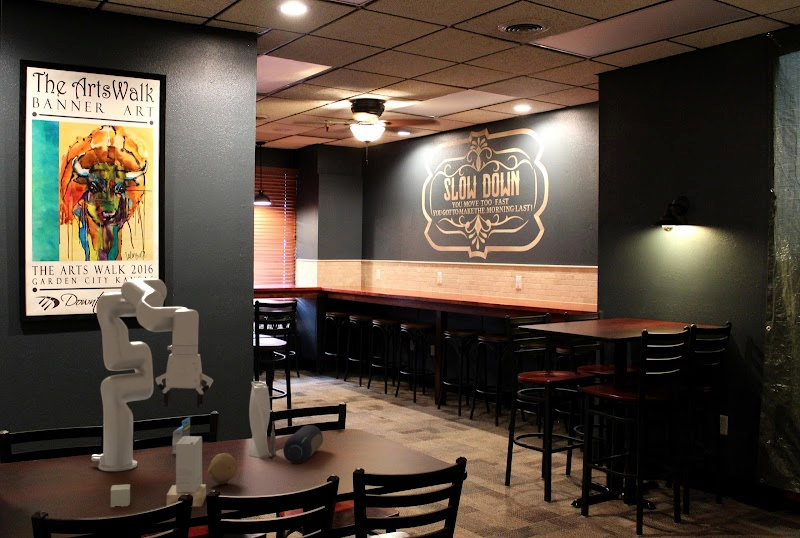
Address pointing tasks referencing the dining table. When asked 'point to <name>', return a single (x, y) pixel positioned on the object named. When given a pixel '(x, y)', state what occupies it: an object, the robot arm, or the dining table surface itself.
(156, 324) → the robot arm
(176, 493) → the maple slab
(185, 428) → the label tape box
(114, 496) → the sage block
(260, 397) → the skyscraper
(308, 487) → the dining table surface
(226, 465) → the tan rounded lump
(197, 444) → the skincare box
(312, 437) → the portable speaker
